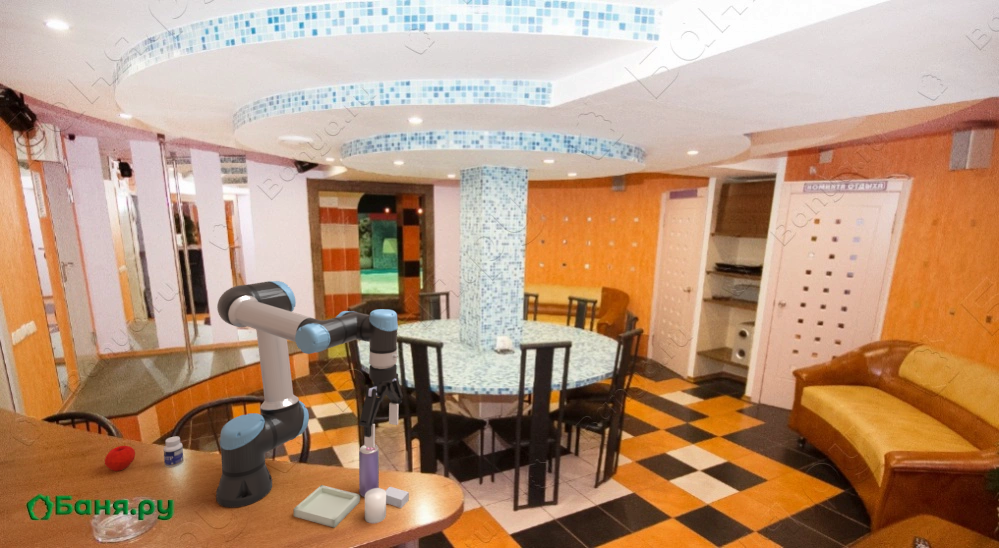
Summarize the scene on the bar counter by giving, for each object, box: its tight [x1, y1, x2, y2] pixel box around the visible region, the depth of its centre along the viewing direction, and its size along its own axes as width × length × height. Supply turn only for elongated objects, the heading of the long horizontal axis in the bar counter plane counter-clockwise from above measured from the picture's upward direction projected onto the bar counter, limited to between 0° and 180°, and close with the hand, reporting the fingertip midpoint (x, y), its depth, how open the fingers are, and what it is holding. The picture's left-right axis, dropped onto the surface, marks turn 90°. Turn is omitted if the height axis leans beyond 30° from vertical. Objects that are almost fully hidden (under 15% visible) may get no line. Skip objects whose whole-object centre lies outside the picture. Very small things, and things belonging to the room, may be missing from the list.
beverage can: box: [358, 444, 380, 498], centre depth 138 cm, size 6×6×15 cm
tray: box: [293, 484, 361, 529], centre depth 131 cm, size 14×12×2 cm
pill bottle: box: [163, 435, 184, 468], centre depth 150 cm, size 5×5×9 cm
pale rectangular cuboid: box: [385, 486, 410, 509], centre depth 136 cm, size 7×4×3 cm, turn 69°
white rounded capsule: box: [364, 487, 387, 524], centre depth 128 cm, size 6×6×7 cm
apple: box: [104, 445, 136, 472], centre depth 146 cm, size 8×8×7 cm
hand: (382, 434), depth 127 cm, fingers open, 13 cm apart
